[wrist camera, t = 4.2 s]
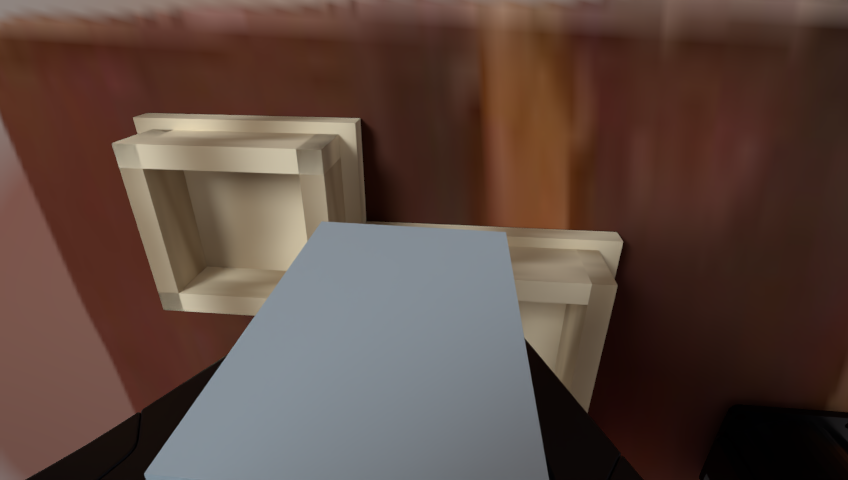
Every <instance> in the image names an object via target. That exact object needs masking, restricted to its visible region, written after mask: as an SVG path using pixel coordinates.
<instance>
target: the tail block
mask: <svg viewBox="0 0 848 480" xmlns="http://www.w3.org/2000/svg"><path fill="white" fill-rule="evenodd" d="M144 476H145V478H146V480H549V476H548V471H547V465H546V459H545V453H544V448H543V442H542V436H541V430H540V425H539V419H538V413H537V408H536V402H535V396H534V390H533V385H532V379H531V373H530V367H529V362H528V356H527V350H526V344H525V339H524V333H523V327H522V322H521V316H520V310H519V304H518V299H517V293H516V287H515V281H514V276H513V270H512V264H511V258H510V253H509V247H508V241H507V235H506V232H496V231H478V230H461V229H444V228H427V227H409V226H392V225H375V224H358V223H340V222H323V221H322V222H321V223H320V224H319V226H318V227H317V229H316V230H315V231H314V233H313V234H312V236H311V237H310V239H309V240H308V241H307V243H306V244H305V246H304V247H303V248H302V250H301V251H300V253H299V254H298V256H297V257H296V258H295V260H294V261H293V263H292V264H291V266H290V267H289V268H288V270H287V271H286V273H285V274H284V275H283V277H282V278H281V280H280V281H279V283H278V284H277V285H276V287H275V288H274V290H273V291H272V293H271V294H270V295H269V297H268V298H267V300H266V301H265V302H264V304H263V305H262V307H261V308H260V310H259V311H258V312H257V314H256V315H255V317H254V318H253V320H252V321H251V322H250V324H249V325H248V327H247V328H246V329H245V331H244V332H243V334H242V335H241V337H240V338H239V339H238V341H237V342H236V344H235V345H234V347H233V348H232V349H231V351H230V352H229V354H228V355H227V356H226V358H225V359H224V361H223V362H222V364H221V365H220V366H219V368H218V369H217V371H216V372H215V374H214V375H213V376H212V378H211V379H210V381H209V382H208V383H207V385H206V386H205V388H204V389H203V391H202V392H201V393H200V395H199V396H198V398H197V399H196V400H195V402H194V403H193V405H192V406H191V408H190V409H189V410H188V412H187V413H186V415H185V416H184V418H183V419H182V420H181V422H180V423H179V425H178V426H177V427H176V429H175V430H174V432H173V433H172V435H171V436H170V437H169V439H168V440H167V442H166V443H165V445H164V446H163V447H162V449H161V450H160V452H159V453H158V454H157V456H156V457H155V459H154V460H153V462H152V463H151V464H150V466H149V467H148V469H147V470H146V472H145V473H144Z"/></svg>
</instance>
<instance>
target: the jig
mask: <svg viewBox="0 0 848 480" xmlns="http://www.w3.org/2000/svg"><path fill="white" fill-rule="evenodd" d="M133 119H134V123H135V126H136V130H137V133H138V134H137V135H134V136H131V137H128V138H126V139H123V140H120V141H117V142H114V143H112V146H113V150H114V153H115V156H116V159H117V162H118V165H119V169H120V172H121V175H122V178H123V181H124V185H125V188H126V191H127V194H128V197H129V200H130V204H131V207H132V210H133V213H134V216H135V220H136V223H137V226H138V229H139V232H140V235H141V239H142V242H143V245H144V248H145V251H146V255H147V258H148V261H149V264H150V267H151V270H152V274H153V277H154V280H155V283H156V286H157V290H158V293H159V296H160V299H161V302H162V305H163V309H164V310H176V311H191V312H207V313H223V314H239V315H256V314H257V312H258V311H259V310H260V308H261V307H262V305H263V304H264V302H265V301H266V300H267V298H268V297H269V295H270V294H271V293H272V291H273V290H274V288H275V287H276V285H277V284H278V283H279V281H280V280H281V278H282V277H283V275H284V274H285V273H286V271H287V270H288V268H289V267H290V266H291V264H292V263H293V261H294V260H295V258H296V257H297V256H298V254H299V253H300V251H301V250H302V248H303V247H304V246H305V244H306V243H307V241H308V240H309V239H310V237H311V236H312V234H313V233H314V231H315V230H316V229H317V227H318V226H319V224H320V223H321V222H322V221H323V222H340V223H358V224H375V225H392V226H409V227H427V228H444V229H461V230H478V231H496V232H506V235H507V241H508V247H509V253H510V258H511V264H512V270H513V276H514V281H515V287H516V293H517V299H518V304H519V310H520V316H521V322H522V327H523V333H524V338H525V339H526V340H527V341H528V342H529V344H530V345H531V346H532V347H533V348H534V350H535V351H536V352H537V353H538V354H539V356H540V357H541V358H542V359H543V360H544V362H545V363H546V364H547V365H548V366H549V368H550V369H551V370H552V371H553V372H554V374H555V375H556V376H557V377H558V378H559V380H560V381H561V382H562V383H563V384H564V386H565V387H566V388H567V389H568V390H569V392H570V393H571V394H572V395H573V396H574V398H575V399H576V400H577V401H578V402H579V404H580V405H581V406H582V407H583V408H584V410H585V411H586V412H587V413H588V409H589V405H590V401H591V396H592V392H593V388H594V384H595V380H596V375H597V371H598V367H599V363H600V358H601V354H602V350H603V346H604V342H605V337H606V333H607V329H608V325H609V320H610V316H611V312H612V308H613V304H614V299H615V295H616V291H617V287H618V285H617V283H616V281H615V275H616V271H617V267H618V262H619V258H620V254H621V249H622V245H623V240H622V239H621V238H620V236H619V235H618V233H617V232H602V231H579V230H557V229H534V228H511V227H488V226H465V225H443V224H420V223H397V222H374V221H366V205H365V188H364V171H363V154H362V137H361V120H360V118H328V117H287V116H246V115H205V114H164V113H146V114H143V115H140V116H136V117H133Z"/></svg>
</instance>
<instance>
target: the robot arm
mask: <svg viewBox="0 0 848 480" xmlns="http://www.w3.org/2000/svg"><path fill="white" fill-rule="evenodd" d="M524 339H525V338H524ZM525 344H526V350H527V356H528V362H529V367H530V373H531V379H532V385H533V390H534V396H535V402H536V408H537V413H538V419H539V425H540V430H541V436H542V442H543V448H544V453H545V459H546V465H547V471H548V476H549V480H643V479H642V478H641V476H640V475H639V474H638V473H637V472H636V471H635V469H634V468H633V467H632V466H631V465H630V463H629V462H628V461H627V460H626V459H625V457H623V456H621V453H620V452H619V450H618V449H617V448H616V447H615V446H614V444H613V443H612V442H611V441H610V440H609V438H608V437H607V436H606V435H605V434H604V432H603V431H602V430H601V429H600V428H599V426H598V425H597V424H596V423H595V422H594V420H593V419H592V418H591V417H590V416H589V414H588V413H587V412H586V411H585V410H584V408H583V407H582V406H581V405H580V404H579V402H578V401H577V400H576V399H575V398H574V396H573V395H572V394H571V393H570V392H569V390H568V389H567V388H566V387H565V386H564V384H563V383H562V382H561V381H560V380H559V378H558V377H557V376H556V375H555V374H554V372H553V371H552V370H551V369H550V368H549V366H548V365H547V364H546V363H545V362H544V360H543V359H542V358H541V357H540V356H539V354H538V353H537V352H536V351H535V350H534V348H533V347H532V346H531V345H530V344H529V342H528V341H527V340H526V339H525ZM226 356H227V355H226ZM226 356H225V357H223V358H221V359H220V360H218V361H217V362H215V363H214V364H212V365H211V366H209V367H208V368H206V369H204V370H203V371H201V372H200V373H198V374H197V375H195V376H194V377H192V378H190V379H189V380H187V381H186V382H184V383H183V384H181V385H180V386H178V387H177V388H175V389H173V390H172V391H170V392H169V393H167V394H166V395H164V396H163V397H161V398H159V399H158V400H156V401H155V402H153V403H152V404H150V405H149V406H147V407H145V408H144V409H143V410H142V411H141V413H139V412H138V413H136V414H135V415H133V416H131V417H130V418H128V419H127V420H125V421H124V422H122V423H121V424H119V425H117V426H116V427H114V428H113V429H111V430H109V431H108V432H106V433H104V434H103V435H101V436H100V437H98V438H96V439H95V440H93V441H92V442H90V443H88V444H87V445H85V446H83V447H82V448H80V449H78V450H76V451H75V452H73V453H71V454H70V455H68V456H66V457H64V458H63V459H61V460H59V461H58V462H56V463H54V464H52V465H51V466H49V467H47V468H45V469H44V470H42V471H40V472H38V473H37V474H35V475H33V476H31V477H29V478H28V479H26V480H146V478H145V476H144V473H145V472H146V470H147V469H148V467H149V466H150V464H151V463H152V462H153V460H154V459H155V457H156V456H157V454H158V453H159V452H160V450H161V449H162V447H163V446H164V445H165V443H166V442H167V440H168V439H169V437H170V436H171V435H172V433H173V432H174V430H175V429H176V427H177V426H178V425H179V423H180V422H181V420H182V419H183V418H184V416H185V415H186V413H187V412H188V410H189V409H190V408H191V406H192V405H193V403H194V402H195V400H196V399H197V398H198V396H199V395H200V393H201V392H202V391H203V389H204V388H205V386H206V385H207V383H208V382H209V381H210V379H211V378H212V376H213V375H214V374H215V372H216V371H217V369H218V368H219V366H220V365H221V364H222V362H223V361H224V359H225V358H226ZM699 479H700V480H848V413H847V412H833V411H820V410H806V409H793V408H779V407H765V406H752V405H734V406H732V407H730V408H729V409H728V411H727V413H726V416H725V418H724V420H723V422H722V425H721V427H720V429H719V432H718V434H717V436H716V439H715V441H714V443H713V446H712V448H711V450H710V453H709V455H708V457H707V459H706V462H705V464H704V466H703V469H702V471H701V473H700V476H699Z"/></svg>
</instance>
